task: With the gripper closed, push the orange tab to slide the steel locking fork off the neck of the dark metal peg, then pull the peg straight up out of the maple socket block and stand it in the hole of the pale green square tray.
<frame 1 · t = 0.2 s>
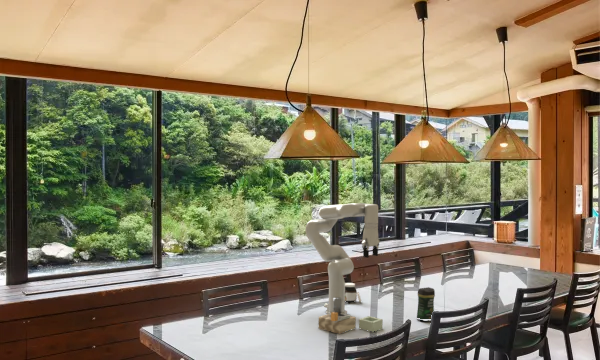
hand: (370, 256, 273), 37 cm above the table, tool pointing down, fingers open, 9 cm apart
socket block: (337, 328, 259), on the table
locking fork: (335, 313, 255), point 9 cm above the table, slide at 0.0 cm
peg: (337, 313, 259), in the socket block
spread jar: (352, 302, 318), on the table
coffee jar: (425, 320, 278), on the table
pale green square tray: (370, 328, 259), on the table
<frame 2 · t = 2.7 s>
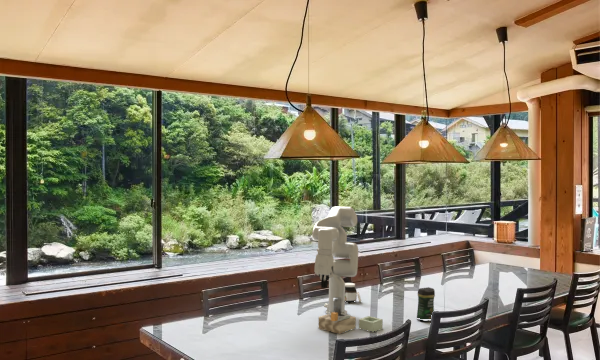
hand: (324, 287, 253), 23 cm above the table, tool pointing down, fingers closed
nothing on the table moved.
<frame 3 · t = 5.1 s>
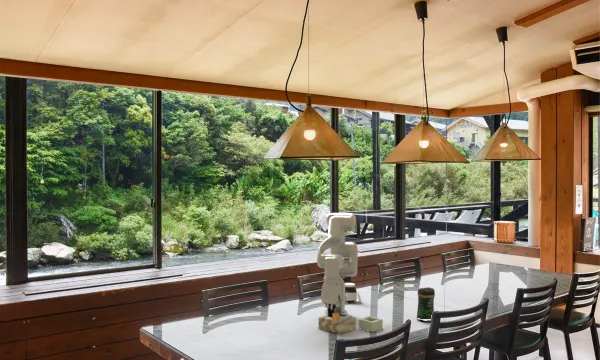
hand: (330, 316, 249), 9 cm above the table, tool pointing down, fingers closed
locking fork: (337, 314, 254), point 9 cm above the table, slide at 1.1 cm, touching gripper
everything else where it was.
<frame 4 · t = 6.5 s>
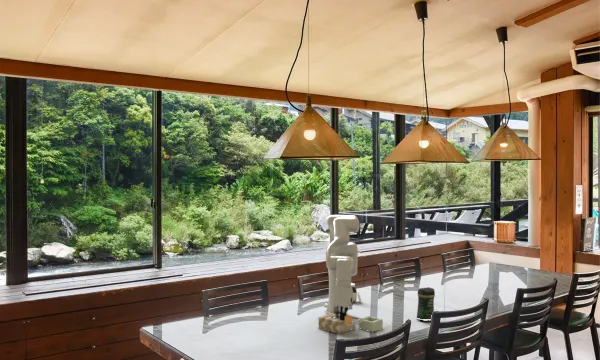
hand: (342, 319, 244), 9 cm above the table, tool pointing down, fingers closed
locking fork: (348, 317, 249), point 9 cm above the table, slide at 8.7 cm, touching gripper
everything else where it was.
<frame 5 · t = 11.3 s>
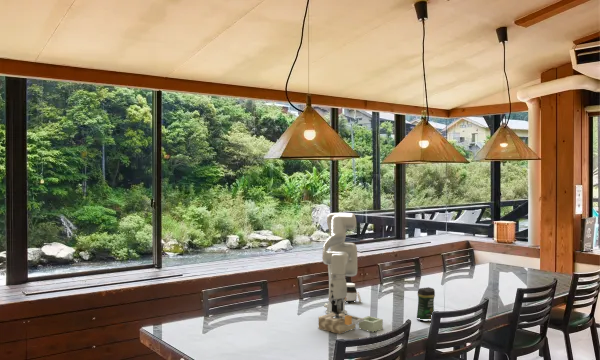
hand: (337, 310, 259), 9 cm above the table, tool pointing down, fingers closed on peg, 4 cm apart
locking fork: (348, 317, 249), point 9 cm above the table, slide at 8.8 cm
peg: (337, 313, 259), in the socket block, touching gripper
everything else where it was.
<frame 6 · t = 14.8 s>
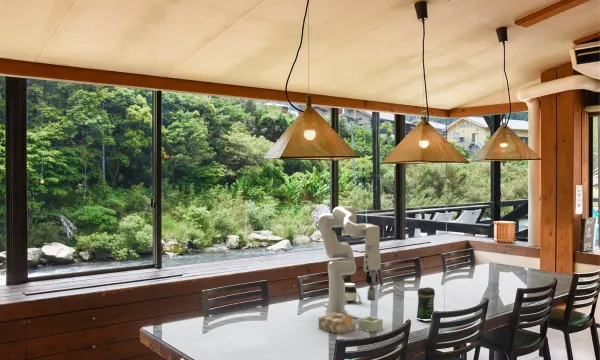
hand: (371, 282, 259), 25 cm above the table, tool pointing down, fingers closed on peg, 4 cm apart
peg: (371, 284, 259), point 23 cm above the table, touching gripper
everything else where it was.
when the fingers open (11 cm above the table, at t = 18.2 s): peg drops 1 cm, resting in pale green square tray.
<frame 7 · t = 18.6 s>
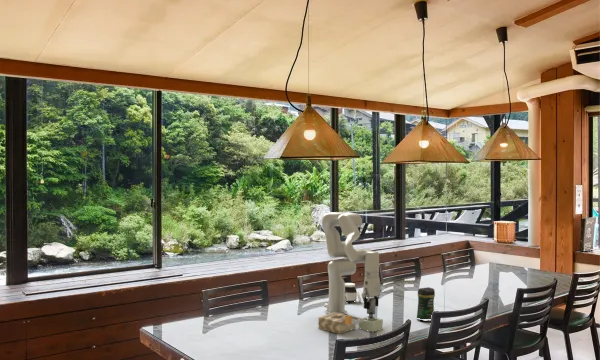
hand: (371, 307, 259), 11 cm above the table, tool pointing down, fingers open, 8 cm apart
peg: (370, 313, 259), in the pale green square tray
everything else where it was.
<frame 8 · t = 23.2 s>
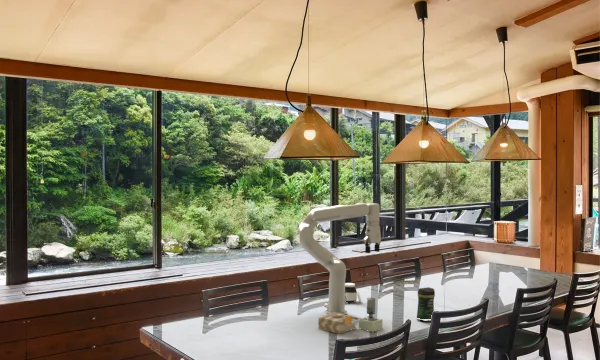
hand: (372, 252, 292), 36 cm above the table, tool pointing down, fingers open, 9 cm apart
nothing on the table moved.
at the end: locking fork slide at 8.8 cm; peg 0.0 cm off-centre on the pale green square tray, point 8.0 cm above the pale green square tray's base; peg tilted 0° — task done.
